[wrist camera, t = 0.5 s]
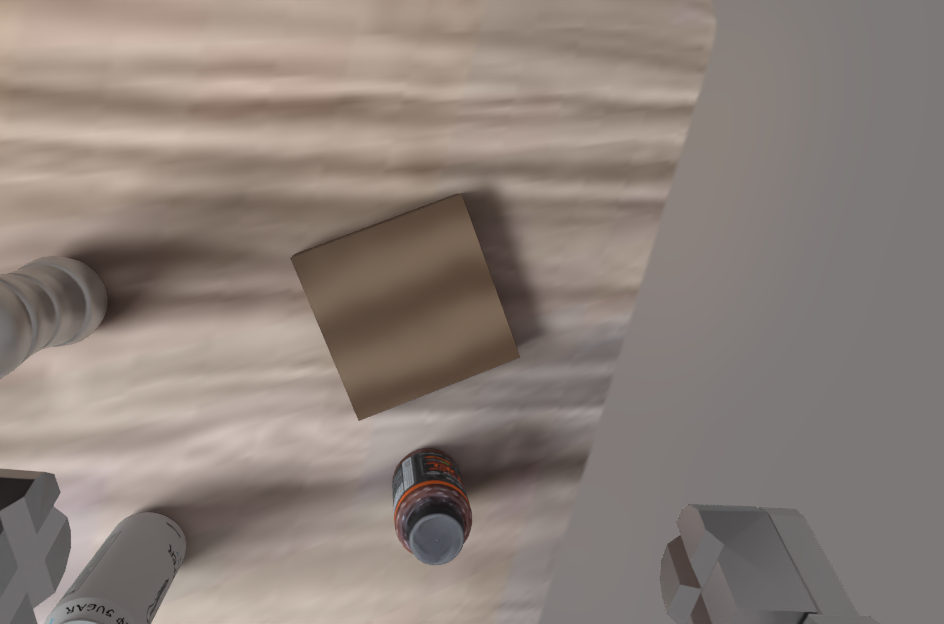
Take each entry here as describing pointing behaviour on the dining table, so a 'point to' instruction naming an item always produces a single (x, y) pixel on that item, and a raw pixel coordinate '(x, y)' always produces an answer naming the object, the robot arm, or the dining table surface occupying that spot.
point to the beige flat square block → (406, 306)
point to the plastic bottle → (47, 307)
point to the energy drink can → (125, 574)
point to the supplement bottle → (430, 506)
